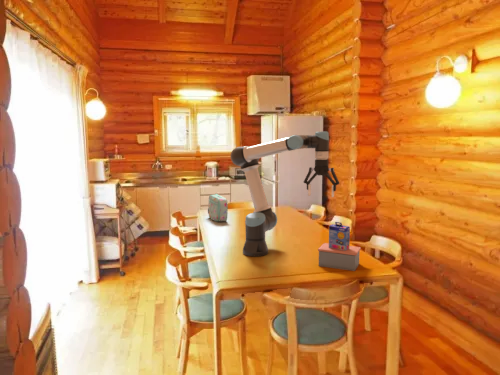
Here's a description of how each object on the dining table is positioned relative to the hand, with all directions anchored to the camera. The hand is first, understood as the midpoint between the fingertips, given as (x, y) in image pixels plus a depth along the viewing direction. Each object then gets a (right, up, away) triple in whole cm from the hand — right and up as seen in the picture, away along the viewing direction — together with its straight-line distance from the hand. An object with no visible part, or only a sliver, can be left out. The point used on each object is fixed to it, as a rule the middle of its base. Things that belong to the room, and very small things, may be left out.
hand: (321, 196), depth 217 cm
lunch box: (-68, -22, +102) cm, 125 cm away
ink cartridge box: (+7, -28, -14) cm, 32 cm away
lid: (+7, -28, -14) cm, 32 cm away
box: (+7, -37, -13) cm, 40 cm away
